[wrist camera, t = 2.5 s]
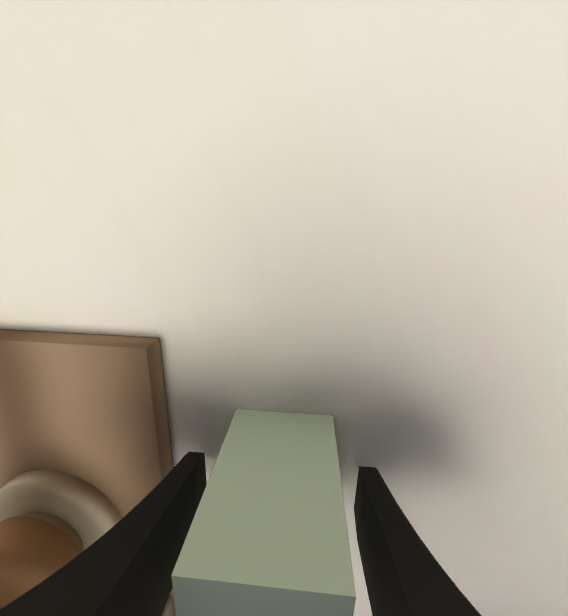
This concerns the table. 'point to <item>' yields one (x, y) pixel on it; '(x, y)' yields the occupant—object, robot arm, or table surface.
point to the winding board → (74, 446)
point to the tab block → (269, 524)
